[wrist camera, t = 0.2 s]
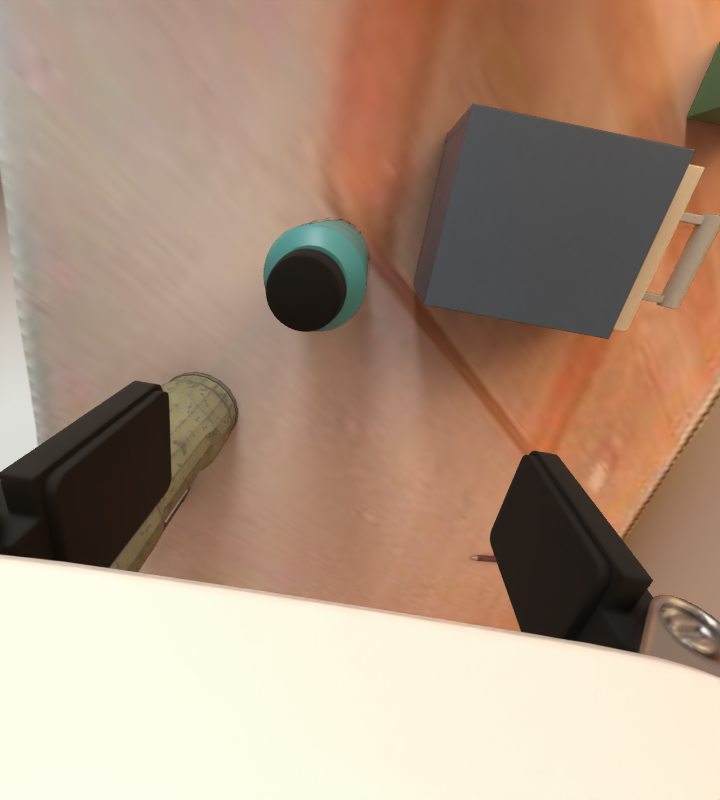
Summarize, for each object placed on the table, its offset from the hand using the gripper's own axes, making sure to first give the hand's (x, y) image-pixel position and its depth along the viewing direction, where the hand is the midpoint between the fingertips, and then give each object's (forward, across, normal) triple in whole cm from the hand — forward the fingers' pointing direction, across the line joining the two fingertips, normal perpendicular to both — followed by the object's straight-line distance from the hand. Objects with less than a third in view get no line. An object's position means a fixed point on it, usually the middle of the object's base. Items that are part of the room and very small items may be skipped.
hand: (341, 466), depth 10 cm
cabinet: (+31, -12, -7) cm, 34 cm away
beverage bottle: (+31, +3, -2) cm, 32 cm away
